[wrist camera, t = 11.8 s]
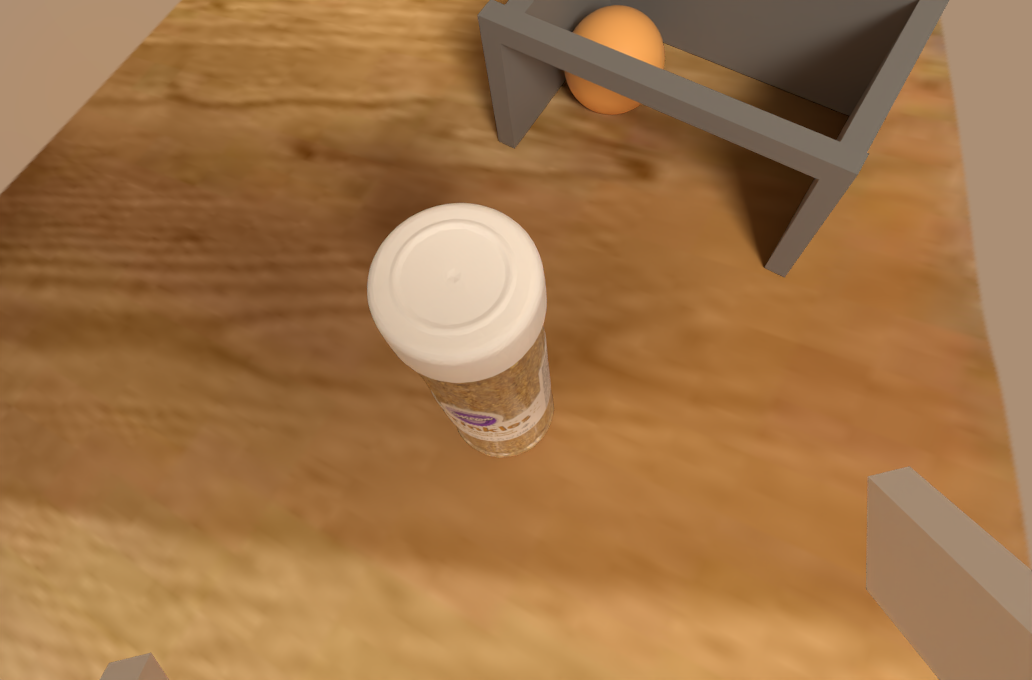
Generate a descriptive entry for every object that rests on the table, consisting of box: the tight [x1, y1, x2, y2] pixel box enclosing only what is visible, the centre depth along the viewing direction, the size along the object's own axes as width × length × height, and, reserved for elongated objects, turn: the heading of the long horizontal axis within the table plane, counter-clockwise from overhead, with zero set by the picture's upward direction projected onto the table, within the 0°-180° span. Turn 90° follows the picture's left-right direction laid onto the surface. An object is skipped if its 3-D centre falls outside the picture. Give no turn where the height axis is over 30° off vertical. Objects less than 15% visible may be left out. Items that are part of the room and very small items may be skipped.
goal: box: [478, 0, 949, 277], centre depth 29 cm, size 16×11×8 cm
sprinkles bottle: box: [367, 203, 554, 458], centre depth 22 cm, size 5×5×14 cm
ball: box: [564, 5, 665, 115], centre depth 31 cm, size 5×5×5 cm
